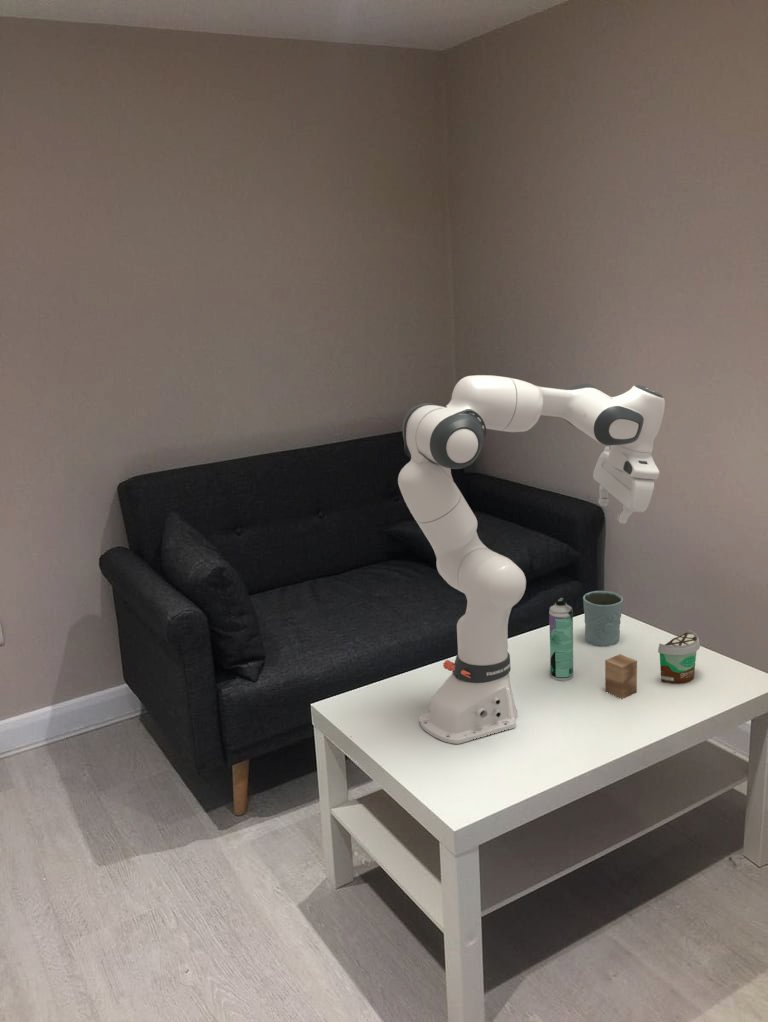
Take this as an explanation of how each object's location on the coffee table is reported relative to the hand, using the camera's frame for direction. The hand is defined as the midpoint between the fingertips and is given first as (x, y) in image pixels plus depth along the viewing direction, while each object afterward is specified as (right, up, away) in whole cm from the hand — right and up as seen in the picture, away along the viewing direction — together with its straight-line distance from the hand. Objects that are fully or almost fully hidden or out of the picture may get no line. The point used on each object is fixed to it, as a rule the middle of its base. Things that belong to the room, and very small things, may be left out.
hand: (611, 513), depth 210 cm
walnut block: (+3, -41, +2) cm, 42 cm away
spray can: (-9, -40, +12) cm, 42 cm away
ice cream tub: (+19, -39, +6) cm, 44 cm away
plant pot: (+5, -34, +31) cm, 46 cm away
